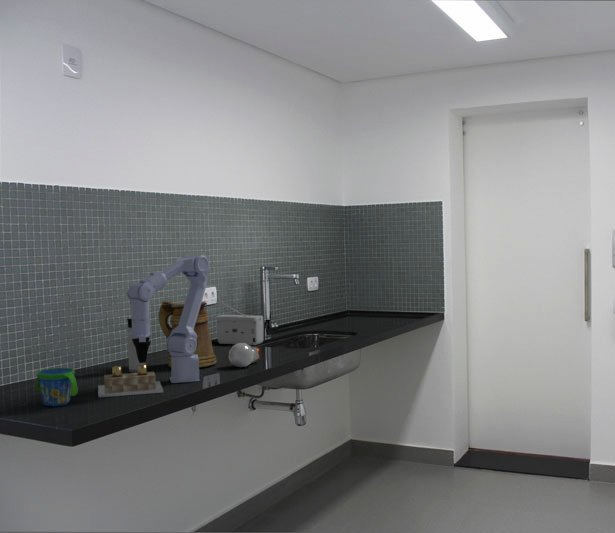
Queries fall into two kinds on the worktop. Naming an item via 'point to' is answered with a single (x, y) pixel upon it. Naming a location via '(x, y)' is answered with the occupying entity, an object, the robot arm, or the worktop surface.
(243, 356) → the potion bottle
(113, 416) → the worktop surface
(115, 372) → the pin
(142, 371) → the pin
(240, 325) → the stereo radio cassette player
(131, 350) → the travel mug
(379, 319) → the worktop surface
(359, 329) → the worktop surface
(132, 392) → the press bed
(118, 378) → the housing
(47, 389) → the snack cup
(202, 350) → the tankard
